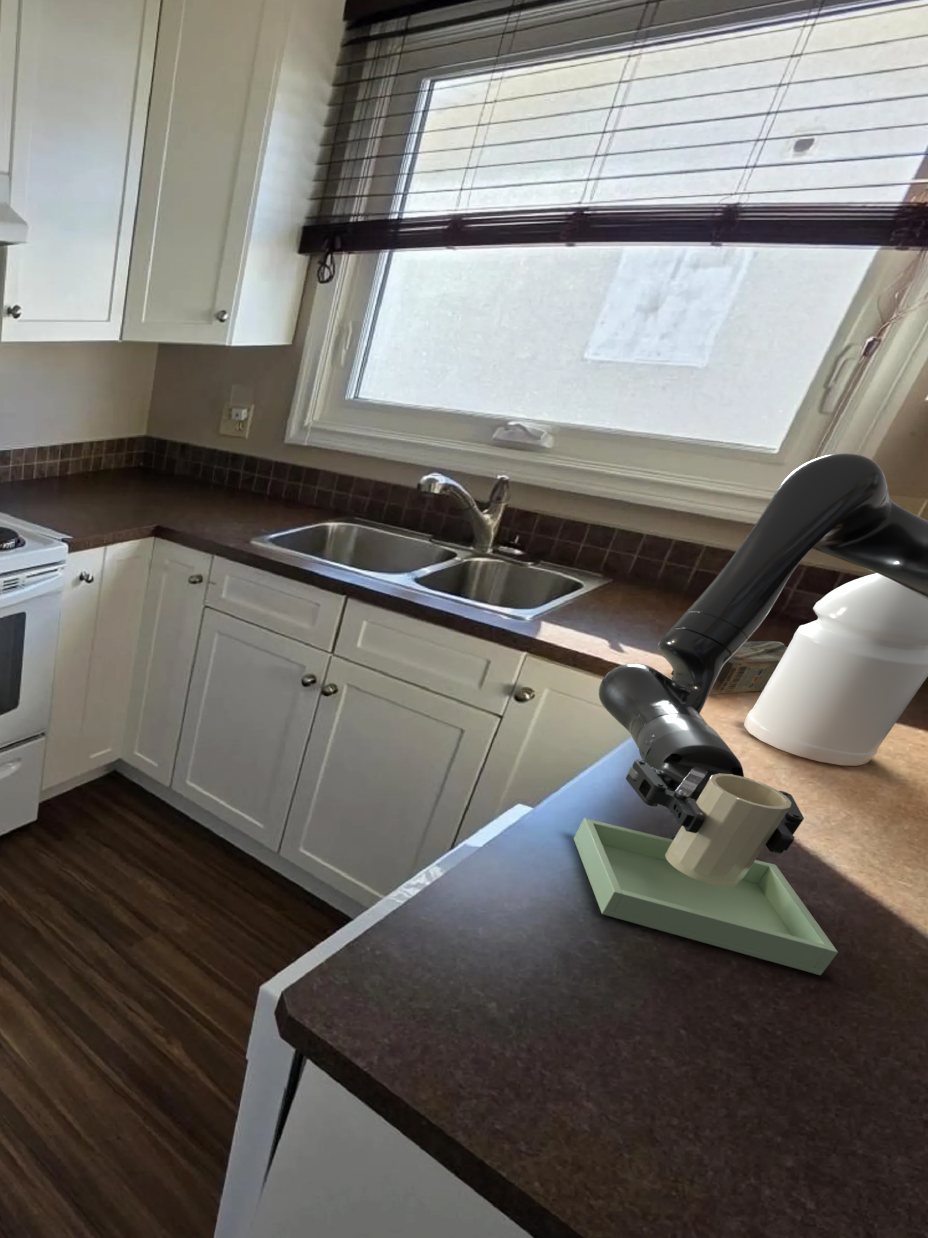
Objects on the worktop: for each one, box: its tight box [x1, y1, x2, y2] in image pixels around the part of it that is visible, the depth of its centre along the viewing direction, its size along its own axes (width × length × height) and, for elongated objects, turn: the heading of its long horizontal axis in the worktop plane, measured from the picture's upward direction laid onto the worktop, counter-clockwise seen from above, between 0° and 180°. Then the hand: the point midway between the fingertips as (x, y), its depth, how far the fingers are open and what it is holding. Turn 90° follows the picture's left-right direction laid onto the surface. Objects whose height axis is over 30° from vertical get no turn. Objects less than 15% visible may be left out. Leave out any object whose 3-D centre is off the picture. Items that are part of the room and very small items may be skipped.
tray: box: [573, 817, 839, 976], centre depth 86 cm, size 18×15×3 cm
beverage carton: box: [670, 640, 788, 695], centre depth 136 cm, size 8×19×7 cm, turn 102°
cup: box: [665, 774, 791, 887], centre depth 83 cm, size 6×6×10 cm
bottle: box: [743, 573, 928, 767], centre depth 113 cm, size 14×14×28 cm
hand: (737, 835), depth 80 cm, fingers closed on cup, 6 cm apart
